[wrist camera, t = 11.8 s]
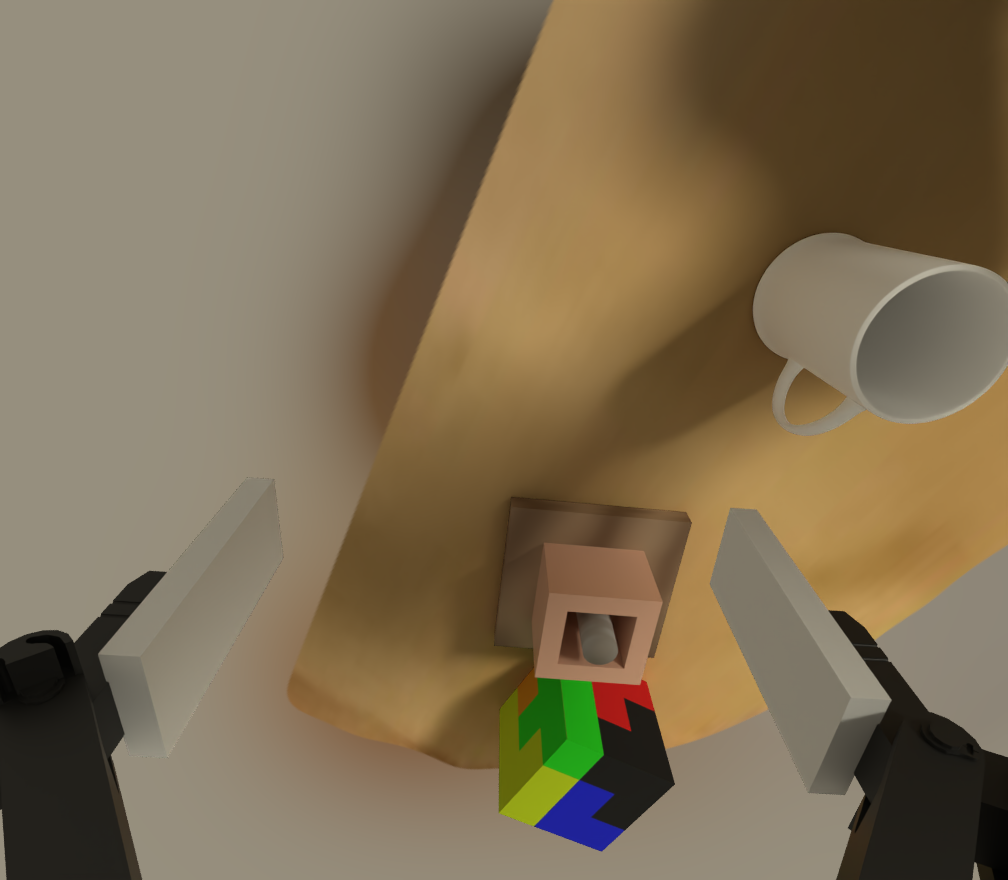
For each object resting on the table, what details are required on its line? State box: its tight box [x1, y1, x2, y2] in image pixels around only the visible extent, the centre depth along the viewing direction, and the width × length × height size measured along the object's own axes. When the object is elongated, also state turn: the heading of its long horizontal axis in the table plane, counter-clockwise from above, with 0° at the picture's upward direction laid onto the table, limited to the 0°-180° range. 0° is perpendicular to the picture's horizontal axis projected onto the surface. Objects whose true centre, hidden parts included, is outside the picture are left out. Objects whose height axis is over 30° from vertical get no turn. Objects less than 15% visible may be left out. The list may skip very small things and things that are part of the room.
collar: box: [532, 543, 663, 685], centre depth 45 cm, size 8×8×6 cm
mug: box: [753, 233, 1008, 436], centre depth 35 cm, size 12×8×12 cm
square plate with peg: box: [494, 497, 692, 665], centre depth 45 cm, size 14×14×8 cm
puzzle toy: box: [499, 668, 675, 851], centre depth 51 cm, size 10×10×10 cm
